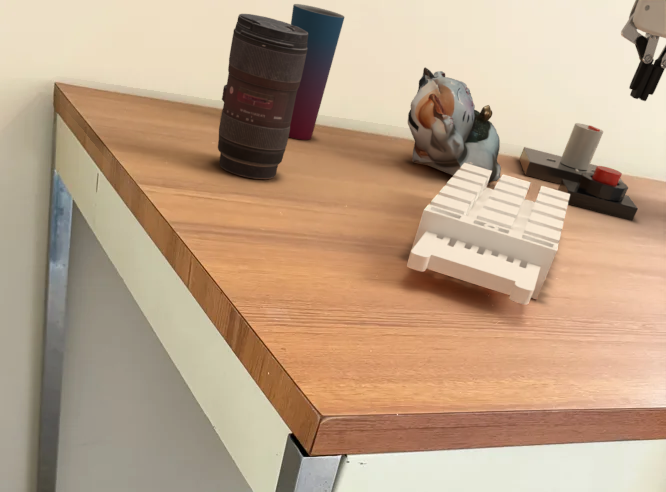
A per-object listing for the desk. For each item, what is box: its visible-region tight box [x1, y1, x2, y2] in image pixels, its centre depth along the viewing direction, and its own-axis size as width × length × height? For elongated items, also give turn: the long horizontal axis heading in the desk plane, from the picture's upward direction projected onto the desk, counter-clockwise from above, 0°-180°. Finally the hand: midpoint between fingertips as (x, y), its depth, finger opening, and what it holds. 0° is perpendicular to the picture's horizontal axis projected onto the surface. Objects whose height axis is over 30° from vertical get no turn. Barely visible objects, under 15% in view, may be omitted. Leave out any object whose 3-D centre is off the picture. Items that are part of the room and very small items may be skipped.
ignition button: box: [592, 165, 623, 185], centre depth 116 cm, size 4×4×2 cm
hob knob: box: [560, 122, 604, 170], centre depth 126 cm, size 4×4×6 cm
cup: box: [288, 3, 345, 141], centre depth 111 cm, size 7×7×15 cm
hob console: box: [519, 146, 625, 185], centre depth 129 cm, size 15×11×2 cm
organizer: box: [406, 163, 570, 306], centre depth 87 cm, size 13×5×35 cm
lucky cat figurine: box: [407, 67, 502, 186], centre depth 113 cm, size 15×12×14 cm
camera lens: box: [217, 13, 308, 180], centre depth 91 cm, size 8×8×15 cm
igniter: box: [557, 172, 639, 222], centre depth 117 cm, size 10×7×4 cm
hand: (637, 97), depth 110 cm, fingers closed
